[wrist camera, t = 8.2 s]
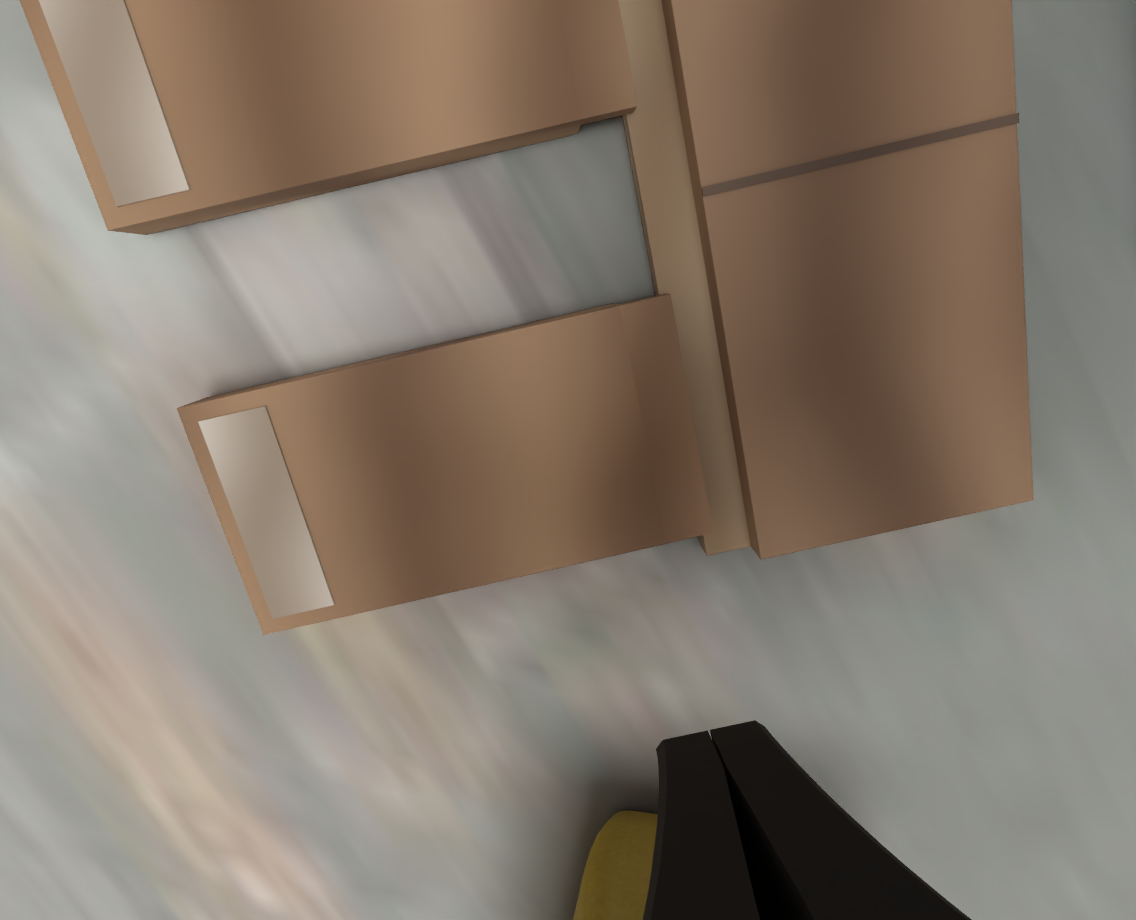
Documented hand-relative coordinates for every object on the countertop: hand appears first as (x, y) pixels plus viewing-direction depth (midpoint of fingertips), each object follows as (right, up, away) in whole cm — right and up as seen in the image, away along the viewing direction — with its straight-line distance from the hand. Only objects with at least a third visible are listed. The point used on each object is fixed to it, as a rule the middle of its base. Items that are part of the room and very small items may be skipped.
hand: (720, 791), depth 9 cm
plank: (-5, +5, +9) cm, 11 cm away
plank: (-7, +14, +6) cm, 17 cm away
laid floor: (+4, +11, +7) cm, 14 cm away
